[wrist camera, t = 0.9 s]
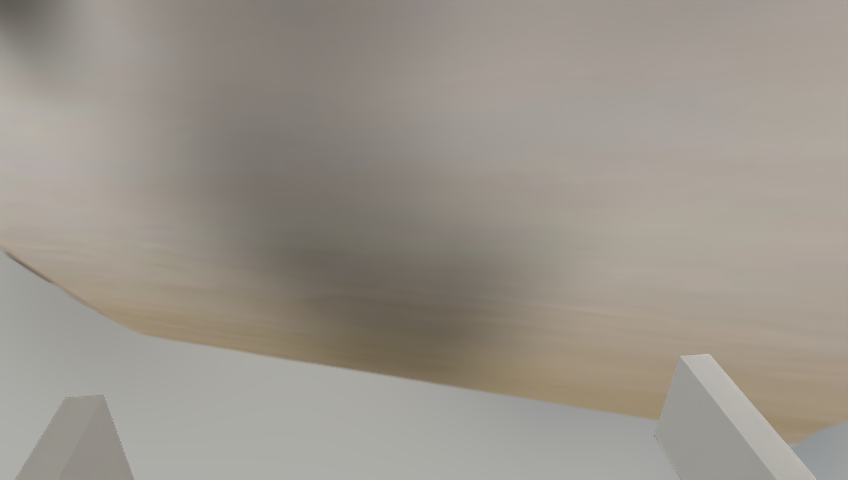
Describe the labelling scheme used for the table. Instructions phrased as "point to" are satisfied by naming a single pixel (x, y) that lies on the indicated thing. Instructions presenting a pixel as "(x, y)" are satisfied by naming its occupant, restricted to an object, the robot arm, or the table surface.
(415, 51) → the table surface
